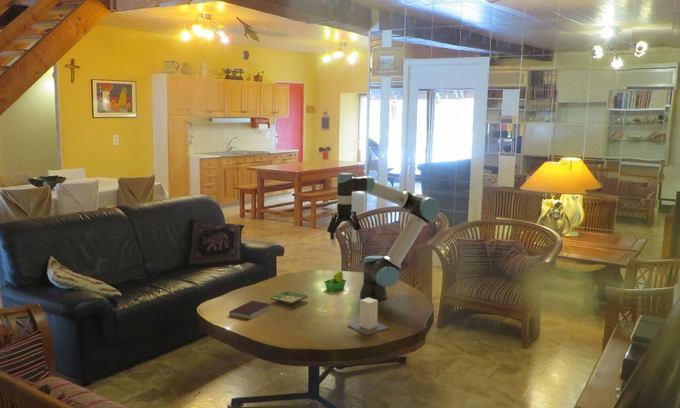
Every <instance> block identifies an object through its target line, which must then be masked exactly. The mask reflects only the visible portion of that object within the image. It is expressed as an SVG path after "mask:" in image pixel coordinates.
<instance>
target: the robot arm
mask: <svg viewBox="0 0 680 408" xmlns="http://www.w3.org/2000/svg"><path fill="white" fill-rule="evenodd" d="M336 179H337V180H336V187H337V189H336V190H337V191H336V192H337V194H336V201H337V202H336V203H337V204H336V211H337V213H332V214H331V219H330V221H329V225H328V227H327V229H326V233H329V239H330V240H331V241H330V244H331V246H333V247H336V244H337V243H336V241H337V238H336V237H337V236H336V235H337V234H336V233H335V232H336V231H337V229H338V228H339V226H340V224H341V223H344V222H348V223H349V225H350V226H351V227H352V230H351V231H352V232H351V237H352V238H351V242H353V243H355V244H356V243H357V239H358V237H357V236H358V231H360V229H361V227H362V226H361V224H360V221H359V219H358V216H357V211H355V210H354V211H353V210H352V207H353V204H352V202H353V192H362V193H365V194H368V195H370V196H374V197H375V198H376V197H377V198H379V199H381V200H383V201H386V202H389V203H392V204H394V205H397V206H398V207H399V208H401V209H403V210H405V211H407V212H409V213H408V215H409V219H408V220H407V222H406V224H405V225H404V227H403V228H402V230H401V231H400V233H399V235H398V236H397V238H396V239H395V242H393V244H392V246H391V248H390V249H389V251H388V253H387V254H386V255H384V256H383V255H369V256H365V257H364V259H363V262H362V263H363V275H362V276H363V277H362V278H363V283H362V286H361V289H360V291H359V292H360V293H359V297H360V298H361V299H365V298H372V299H375V300H378V301H381V300H382V301H383V300H385V299H387V298H388V292H387V288H391V287H393V286H395V285H396V284H397V283H398V281H399V280H400V271H401V269H402V266H401V264H402V262H403V261H404V259H405V257H406V256H407V254H408V253H409V251H410V249H411V247H412V246H413V245H414V243H415V241H416V239H417V237H418V236H419V234H420V233H421V231H422V229H423V228H424V227H425V226H428V225H429V224H430V222H431V221H432V220H435V219H436V218H437V217H438V216H439V214H440V208H441V207H440V204H439V202H438V201H437V200H436V199H435V198H433V197H432V196H426V195H425V194H424V195H423V194H418V193H413V192H409V191H406V190H404V191H401V190H399V189H396V188H394V187H391V186H389V185H388V186H387V185H385V184H383V183H381V182H377V181H375V178H374V177H373V176H371V175H370V176H366V175H365V176H363V175H359V174H355V173H350V172H340V173H338V174H337V178H336Z"/></svg>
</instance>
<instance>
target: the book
mask: <svg viewBox="0 0 680 408" xmlns="http://www.w3.org/2000/svg"><path fill="white" fill-rule="evenodd" d="M270 309H272V308H271V303H267V302H263V301H256V300H250V301H248V302H246V303H244V304H242V305H239V306H238V307H236V308H234V309H232V310H230V311H229V312H228V313H229V316H230V315H232V316H231V317H234V316H237V317H236V318H238V317H241V318H240V319H244V320H252V319H254V318H255V317H258V316H259V315H261V314H263V313H265V312H266V311H268V310H270Z"/></svg>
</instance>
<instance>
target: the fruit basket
mask: <svg viewBox="0 0 680 408" xmlns="http://www.w3.org/2000/svg"><path fill="white" fill-rule="evenodd" d="M346 282H347V280H346V279H344V277H343V272H342V271H341V270H339V271H337V272H336V273H335V274H334V275H333V278H332V279H328V280H324V284H325V287H326V291H327V290H328V291H330V292H336V291H340V290H343V289H344V288H345V285H346Z"/></svg>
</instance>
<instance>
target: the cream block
mask: <svg viewBox="0 0 680 408" xmlns="http://www.w3.org/2000/svg"><path fill="white" fill-rule="evenodd" d="M378 303H379V300H375V299H372V298H365V299H363V298H361V299H360V300H359V322H360V327H363V328H366V329H372V328H374V327H377V322H378V309H379V308H378V307H379V304H378Z"/></svg>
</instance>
